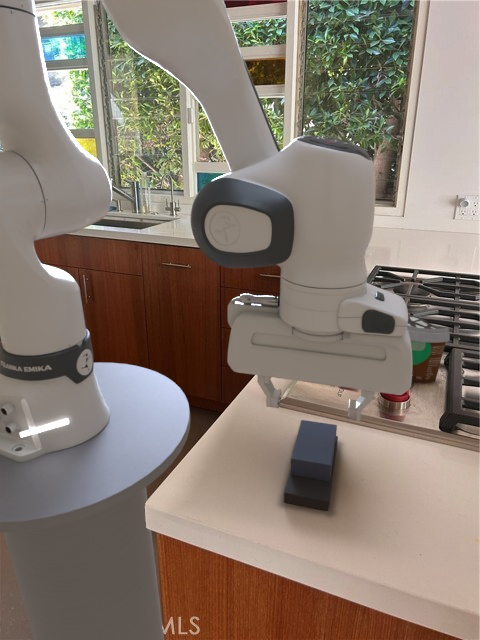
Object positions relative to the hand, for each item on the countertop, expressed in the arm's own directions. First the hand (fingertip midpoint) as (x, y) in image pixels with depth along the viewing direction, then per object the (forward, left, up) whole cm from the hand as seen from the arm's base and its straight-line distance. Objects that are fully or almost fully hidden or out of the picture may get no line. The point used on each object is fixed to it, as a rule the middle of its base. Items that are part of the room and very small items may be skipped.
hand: (312, 411), depth 54 cm
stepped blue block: (0, -1, -8) cm, 8 cm away
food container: (+12, +28, -8) cm, 31 cm away
